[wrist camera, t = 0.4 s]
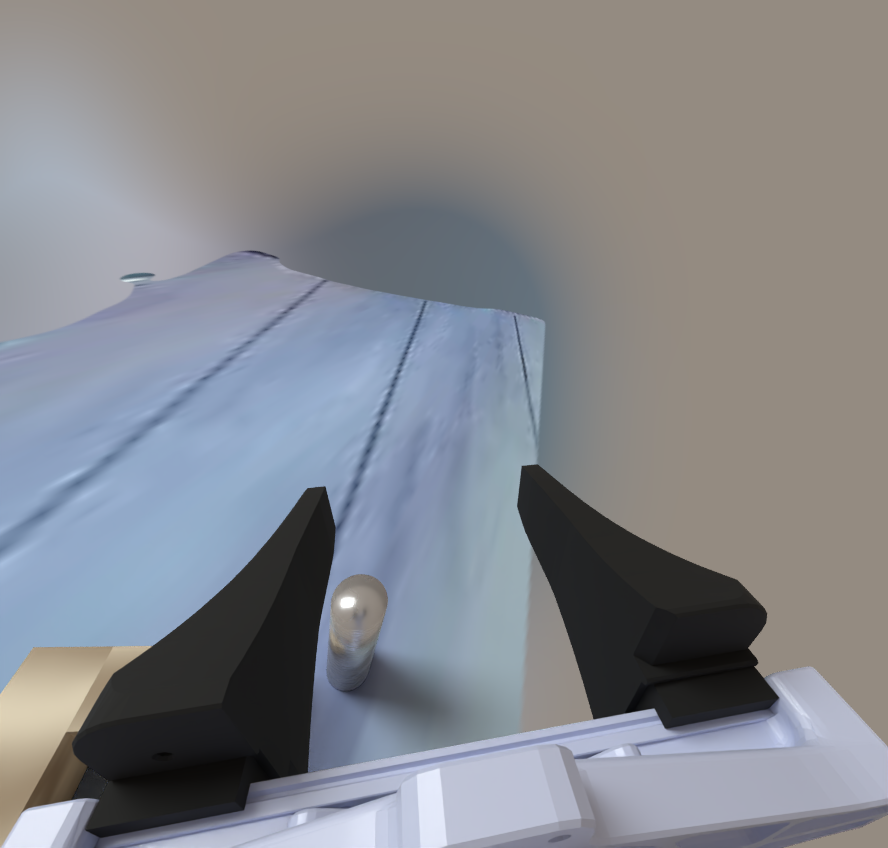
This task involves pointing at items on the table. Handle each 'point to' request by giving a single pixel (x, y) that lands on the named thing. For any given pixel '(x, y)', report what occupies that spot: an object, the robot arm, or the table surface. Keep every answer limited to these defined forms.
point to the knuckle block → (49, 723)
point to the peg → (354, 630)
